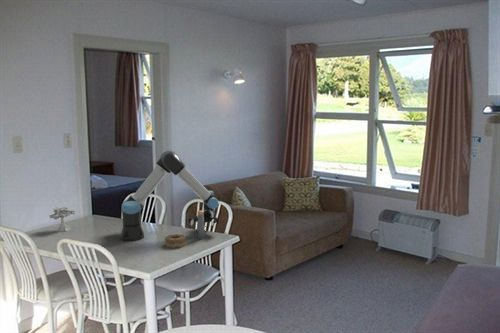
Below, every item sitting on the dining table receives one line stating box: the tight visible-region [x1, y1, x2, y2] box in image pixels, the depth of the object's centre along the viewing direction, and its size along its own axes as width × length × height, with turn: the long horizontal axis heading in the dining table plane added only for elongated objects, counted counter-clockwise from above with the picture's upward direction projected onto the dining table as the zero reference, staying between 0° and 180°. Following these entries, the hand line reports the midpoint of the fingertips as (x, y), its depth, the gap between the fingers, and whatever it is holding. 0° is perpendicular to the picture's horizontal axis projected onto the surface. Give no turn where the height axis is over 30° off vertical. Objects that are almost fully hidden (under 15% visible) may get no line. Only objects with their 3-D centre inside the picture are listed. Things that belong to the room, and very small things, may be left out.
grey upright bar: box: [197, 210, 205, 240], centre depth 314 cm, size 4×4×18 cm
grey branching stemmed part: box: [48, 206, 76, 233], centre depth 338 cm, size 18×16×17 cm
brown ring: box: [164, 233, 187, 249], centre depth 300 cm, size 12×12×5 cm
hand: (201, 223), depth 314 cm, fingers open, 13 cm apart
